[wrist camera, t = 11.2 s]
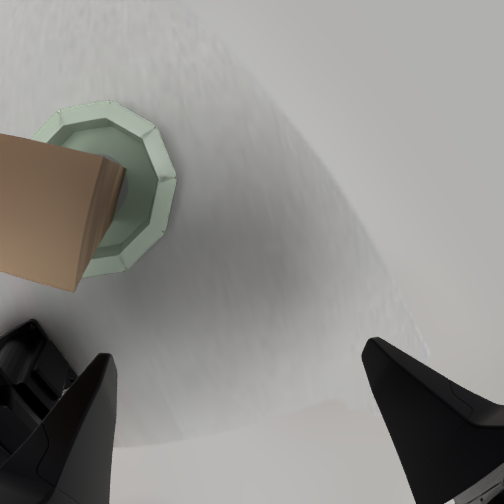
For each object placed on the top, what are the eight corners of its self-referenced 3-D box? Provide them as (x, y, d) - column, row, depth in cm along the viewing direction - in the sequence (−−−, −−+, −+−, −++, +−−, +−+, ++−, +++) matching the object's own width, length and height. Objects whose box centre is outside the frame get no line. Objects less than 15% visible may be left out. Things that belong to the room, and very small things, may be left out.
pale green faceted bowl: (71, 285, 18) (61, 305, 15) (14, 156, 14) (-8, 153, 11) (191, 223, 20) (201, 233, 17) (137, 89, 16) (137, 73, 13)
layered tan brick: (112, 222, 17) (74, 292, 7) (63, 209, 16) (-30, 261, 5) (126, 168, 17) (103, 156, 6) (77, 156, 15) (-9, 131, 5)
